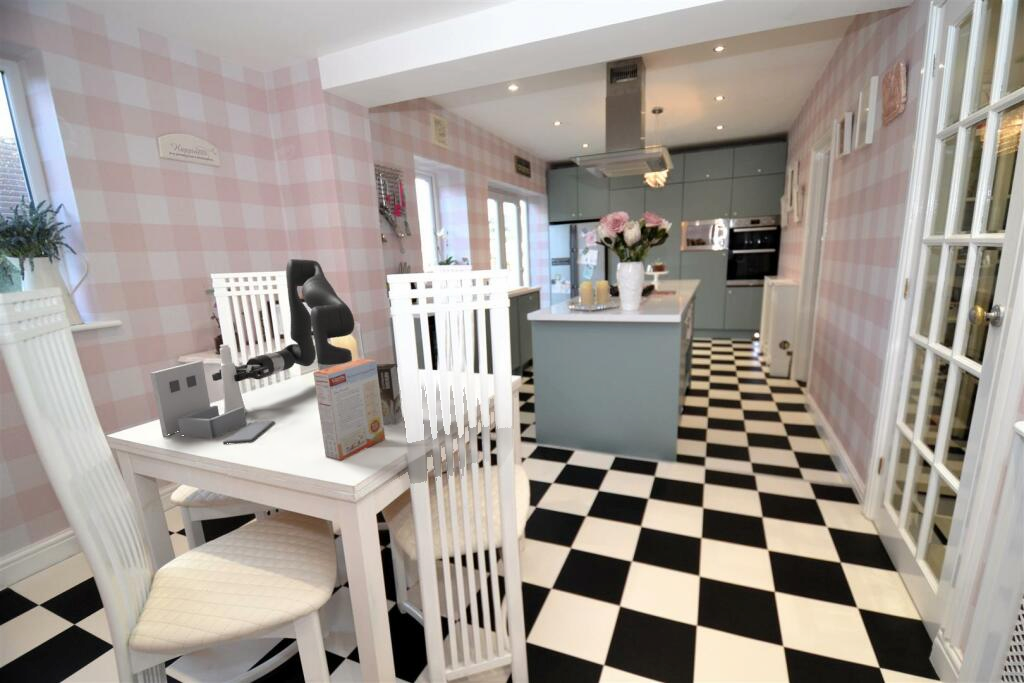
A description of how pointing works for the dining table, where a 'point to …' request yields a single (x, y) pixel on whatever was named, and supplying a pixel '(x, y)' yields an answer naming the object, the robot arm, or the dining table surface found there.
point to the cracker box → (349, 407)
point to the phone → (249, 432)
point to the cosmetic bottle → (230, 381)
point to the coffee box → (389, 393)
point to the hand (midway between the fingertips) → (224, 378)
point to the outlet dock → (190, 403)
